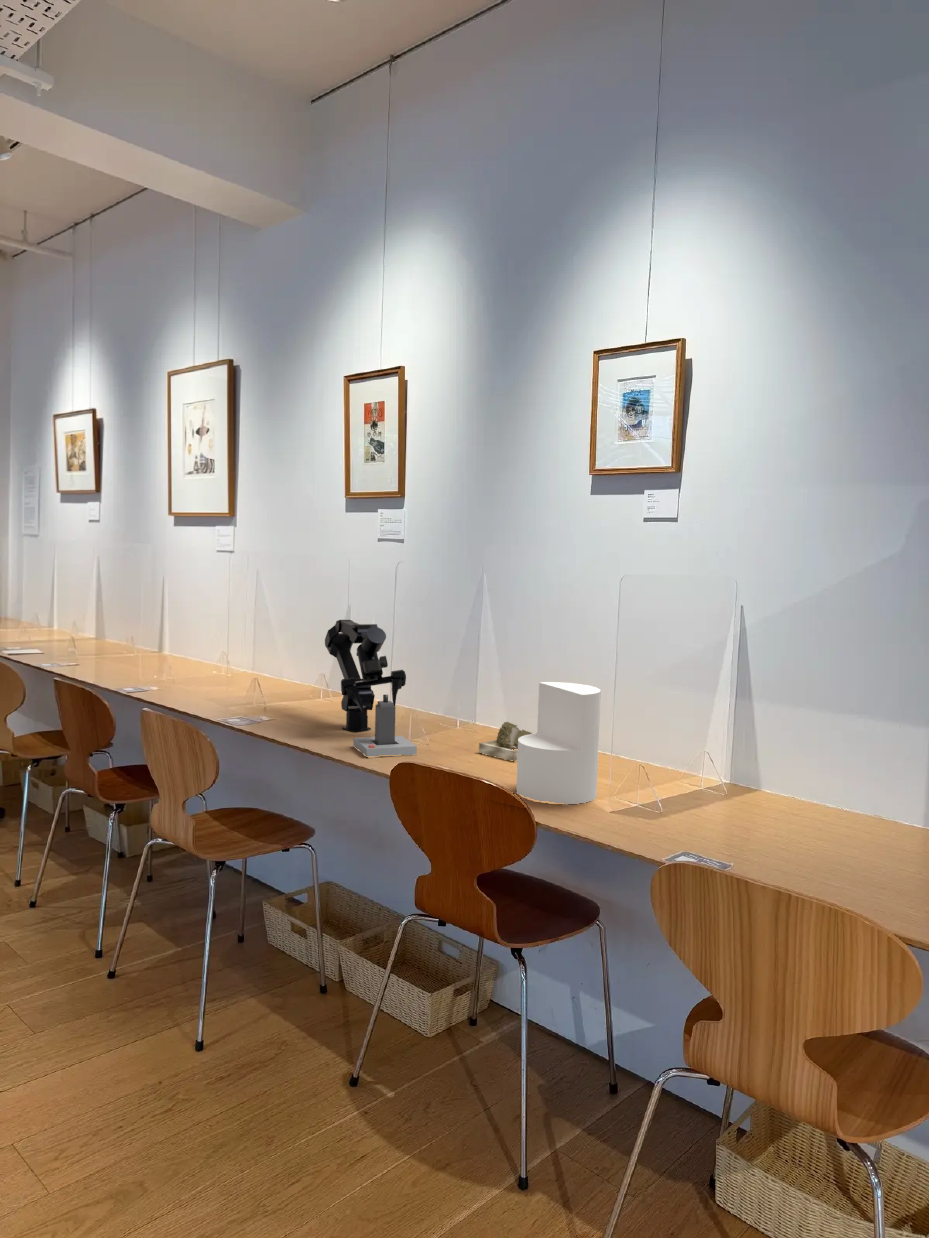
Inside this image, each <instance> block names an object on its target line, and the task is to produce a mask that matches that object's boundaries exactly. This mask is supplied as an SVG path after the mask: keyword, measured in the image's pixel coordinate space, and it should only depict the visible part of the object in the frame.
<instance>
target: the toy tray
mask: <svg viewBox="0 0 929 1238" xmlns="http://www.w3.org/2000/svg"><path fill="white" fill-rule="evenodd" d="M512 749H513V750H512ZM514 749H517V748H516V747H515V746H508V747H506V748H505V747H504V748H503V745H502V744H501V743H500V744H498V740H497V739H493V740H488V741H483V742H480V743H479V744H478V754H479V753H484V754H487V755H490V756H489V757H491V756H496V757H500V758H503V759H506V760H505V761H507V760H513V761H516V760H518V750H514ZM487 755H486V756H487ZM503 759H502V760H503Z"/></svg>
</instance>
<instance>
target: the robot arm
mask: <svg viewBox="0 0 929 1238" xmlns="http://www.w3.org/2000/svg"><path fill="white" fill-rule="evenodd" d="M386 639H387V633H386V632H385V631H384V630H383V629H382V628H380V627H378V624H376V623H372V624H371V623H369V624H368V623H365V624H364V623H362V624H359V623H357V622H355V621H353V619H352V620H351V619H338V620H336V622H335V624H334V625H333V626H332V627H330V628H329V629H328V630H327V632H326V636H325V638H324V646H325V648H326V650H327V651H328V654H330V655H331V656H333V657H334V658H336V661H337V664H338V666H339V669H340V672H341V674H342V676H343V678H342V679H341V680H340V690H341V695H342V696H343V697H342V698H341V703H340V704H341V710H343V711H344V712H346V715H345V716H346V719H345V721H346V723H345V724H346V726H342V728H341V729H343V730H345V729H348V730H347V731H349V730H351V731H350V732H353V731H354V732H353V733H357V732H364V731H369V730H368V729H370V730H372V728H371V727H369V726H368V724H369V721H368V720H369V718H368V717H369V715H368V711H372V710H373V708H374V702H375V697H376V695H375V693H374V691H373V690H372V686H377V685H378V686H380V685H386V684H391V699H392V702H393V703H394V706H395V707H396V702H397V701H396V700H397V695H398V692H399V690H401V689H402V688H403V687H404V686H406V681H407V676H406V674H407V673H406V671H405V670H404V669H398V670H393V671H390V675H389V676H383V675H384V672H383V669H384V668H388V666H389V665H388V659H387V655H383V656H379V655H378V652H380V651H381V649H382V647H383V645H384V643H385V641H386ZM353 644H359V645H358V646H357V648H356V657H357V658H358V662H359V668H360V669H359V670H360V672H359V670H358V667H357V665H356V662H355V660H354V657H353V655H352V646H353ZM378 656H379V657H378ZM360 673H361V675H360ZM363 730H364V731H363Z"/></svg>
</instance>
